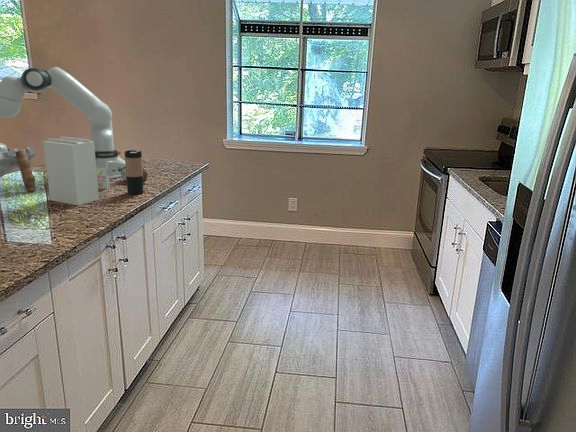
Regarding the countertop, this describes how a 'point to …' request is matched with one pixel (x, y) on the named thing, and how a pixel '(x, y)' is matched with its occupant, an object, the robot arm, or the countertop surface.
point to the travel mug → (134, 172)
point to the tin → (123, 174)
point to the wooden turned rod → (26, 170)
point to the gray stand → (71, 170)
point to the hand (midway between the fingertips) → (22, 149)
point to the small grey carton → (103, 178)
